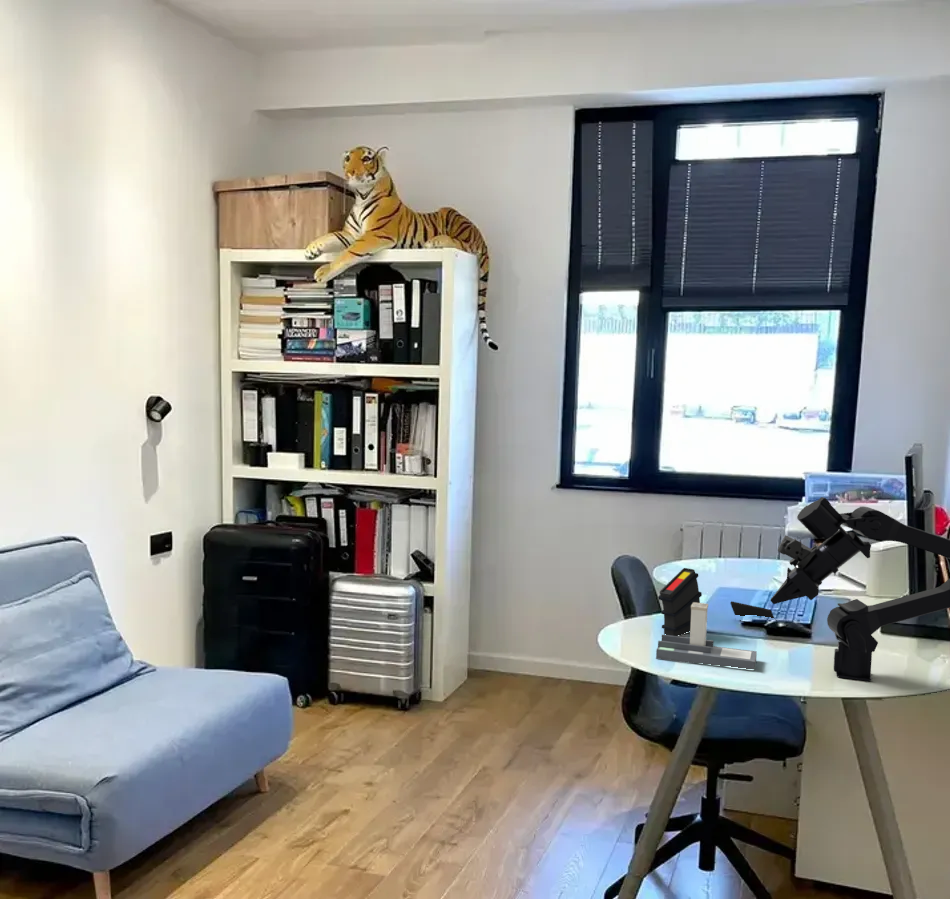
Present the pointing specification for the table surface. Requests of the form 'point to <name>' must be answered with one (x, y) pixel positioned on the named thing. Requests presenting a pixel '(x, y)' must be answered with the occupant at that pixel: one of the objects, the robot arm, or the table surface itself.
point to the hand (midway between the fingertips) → (771, 602)
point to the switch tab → (698, 624)
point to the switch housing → (703, 653)
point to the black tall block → (679, 602)
